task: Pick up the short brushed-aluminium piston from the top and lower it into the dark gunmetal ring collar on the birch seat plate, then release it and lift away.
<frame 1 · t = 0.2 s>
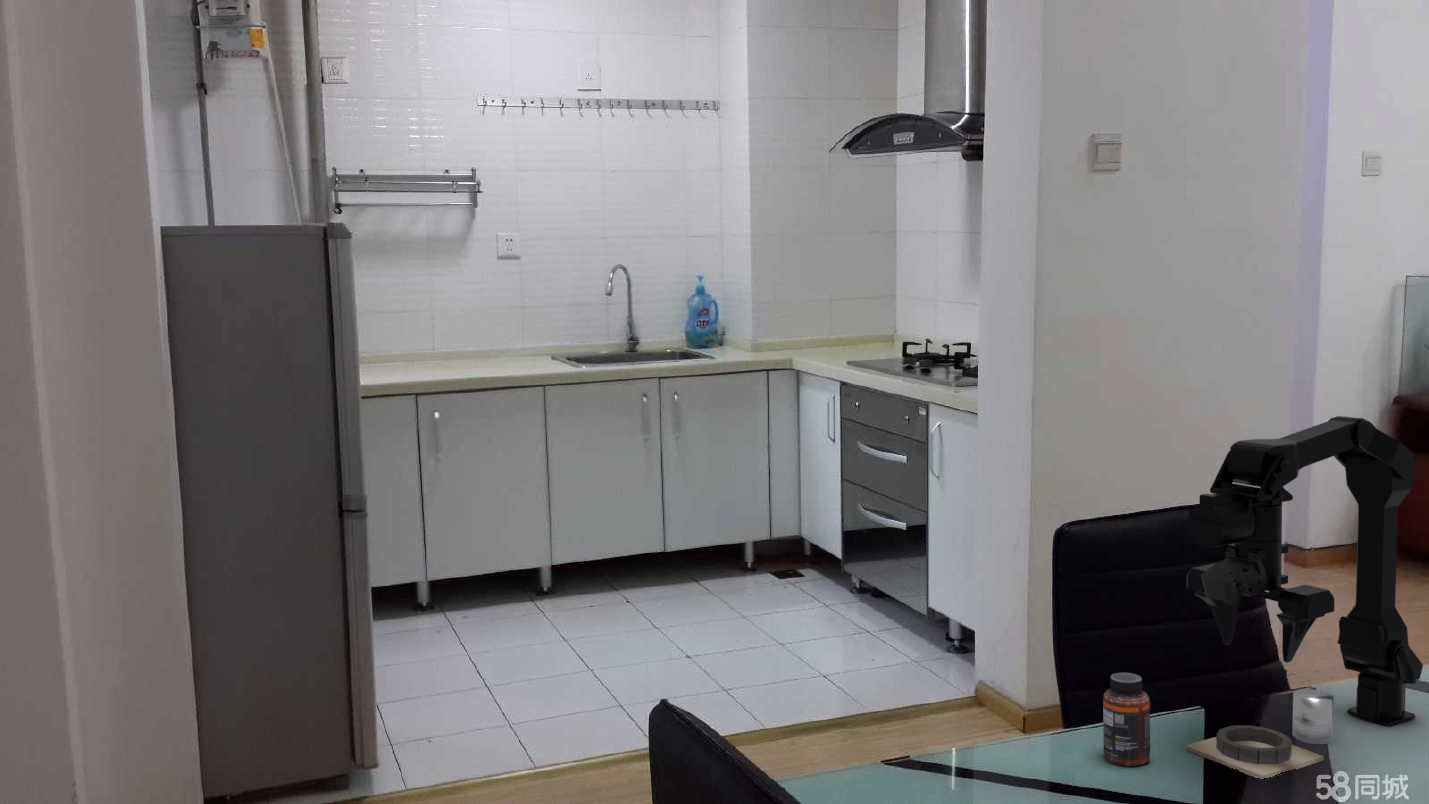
hand: (1257, 652, 165), 14 cm above the table, tool pointing down, fingers open, 9 cm apart
supplement bottle: (1126, 760, 166), on the table
ring seat: (1253, 755, 166), on the table
piston: (1312, 737, 172), on the table
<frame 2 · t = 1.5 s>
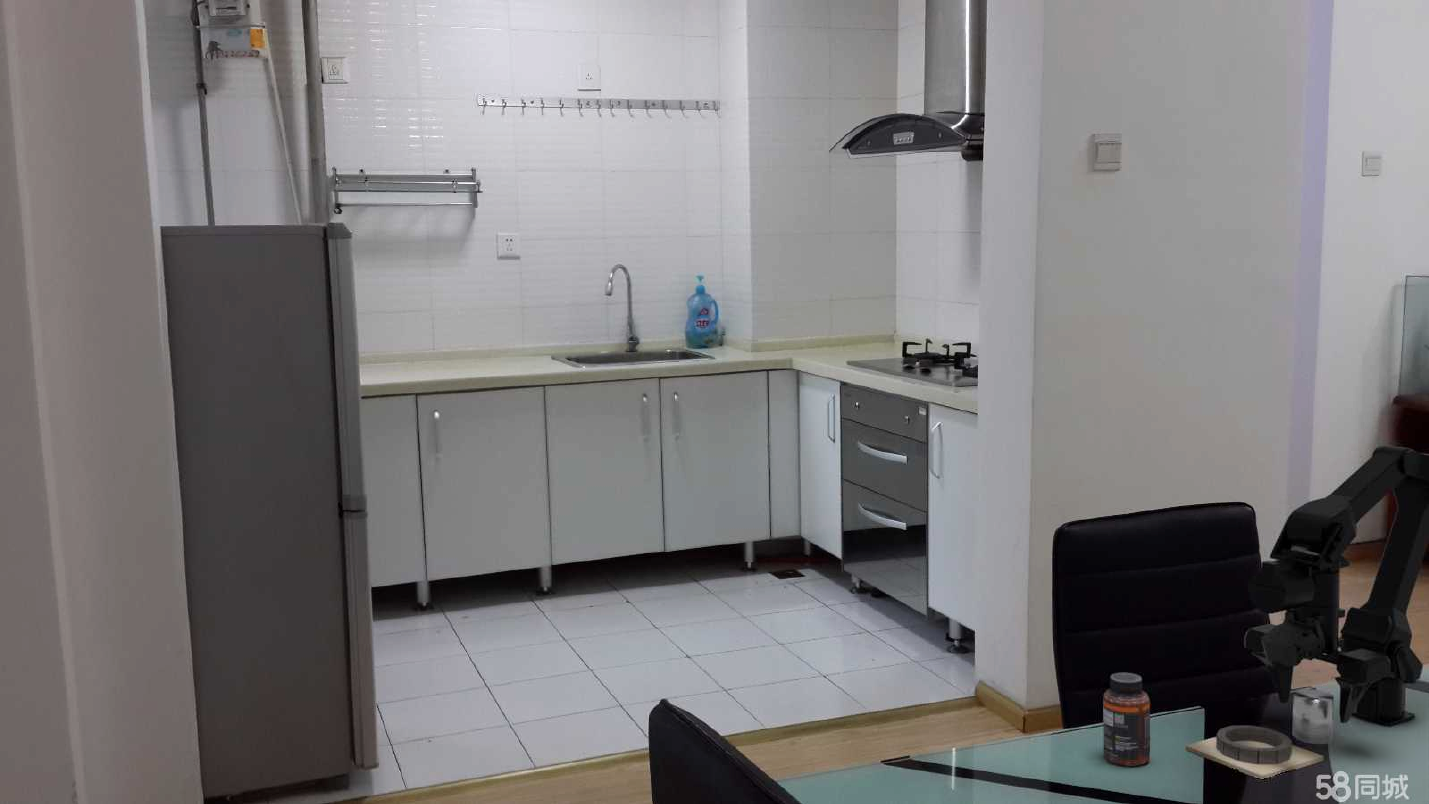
hand: (1313, 712, 172), 4 cm above the table, tool pointing down, fingers open, 9 cm apart
nothing on the table moved.
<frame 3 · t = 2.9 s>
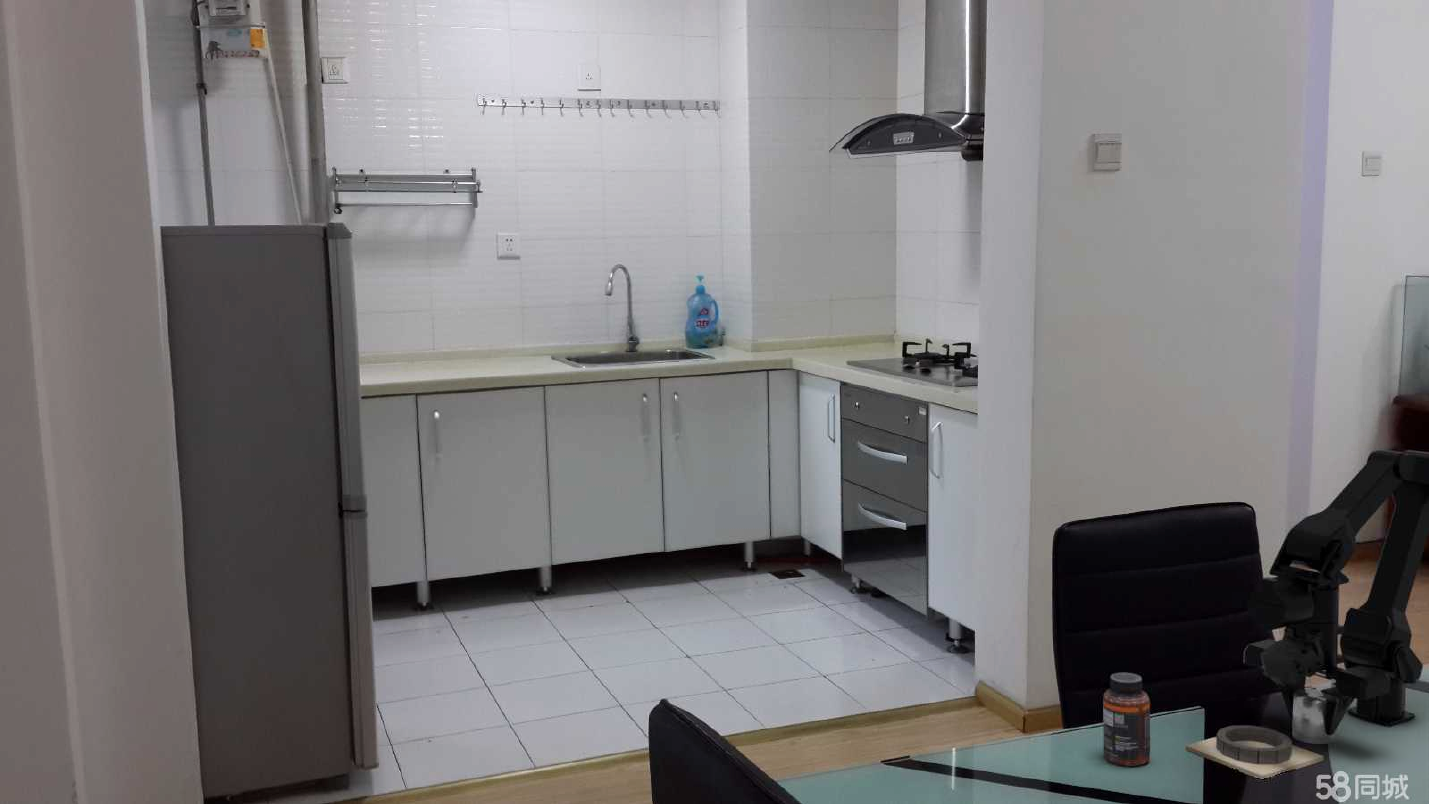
hand: (1312, 728, 172), 1 cm above the table, tool pointing down, fingers closed on piston, 5 cm apart
piston: (1312, 737, 172), on the table, touching gripper
everything else where it was.
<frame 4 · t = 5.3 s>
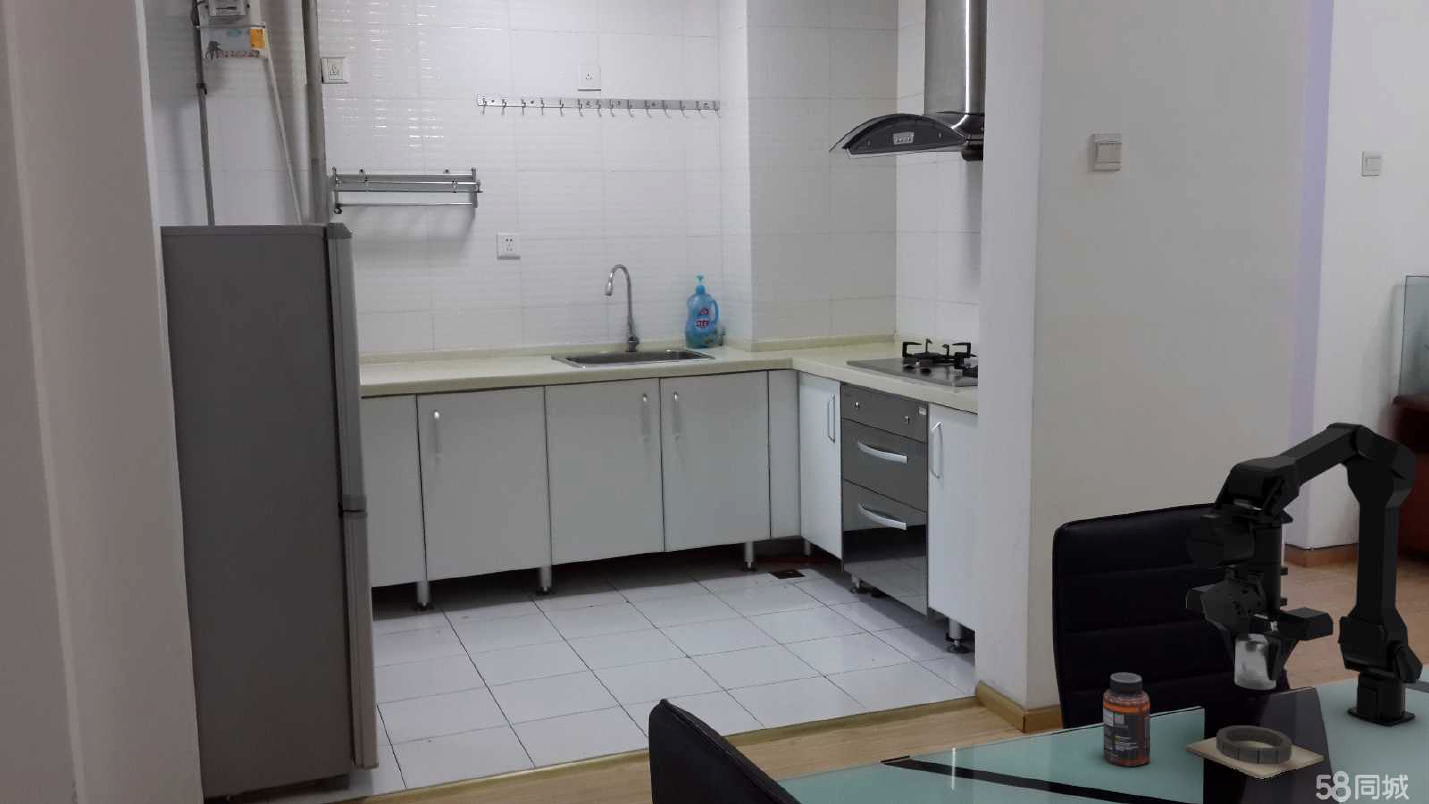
hand: (1255, 674, 165), 11 cm above the table, tool pointing down, fingers closed on piston, 5 cm apart
piston: (1255, 683, 165), point 10 cm above the table, touching gripper
everything else where it was.
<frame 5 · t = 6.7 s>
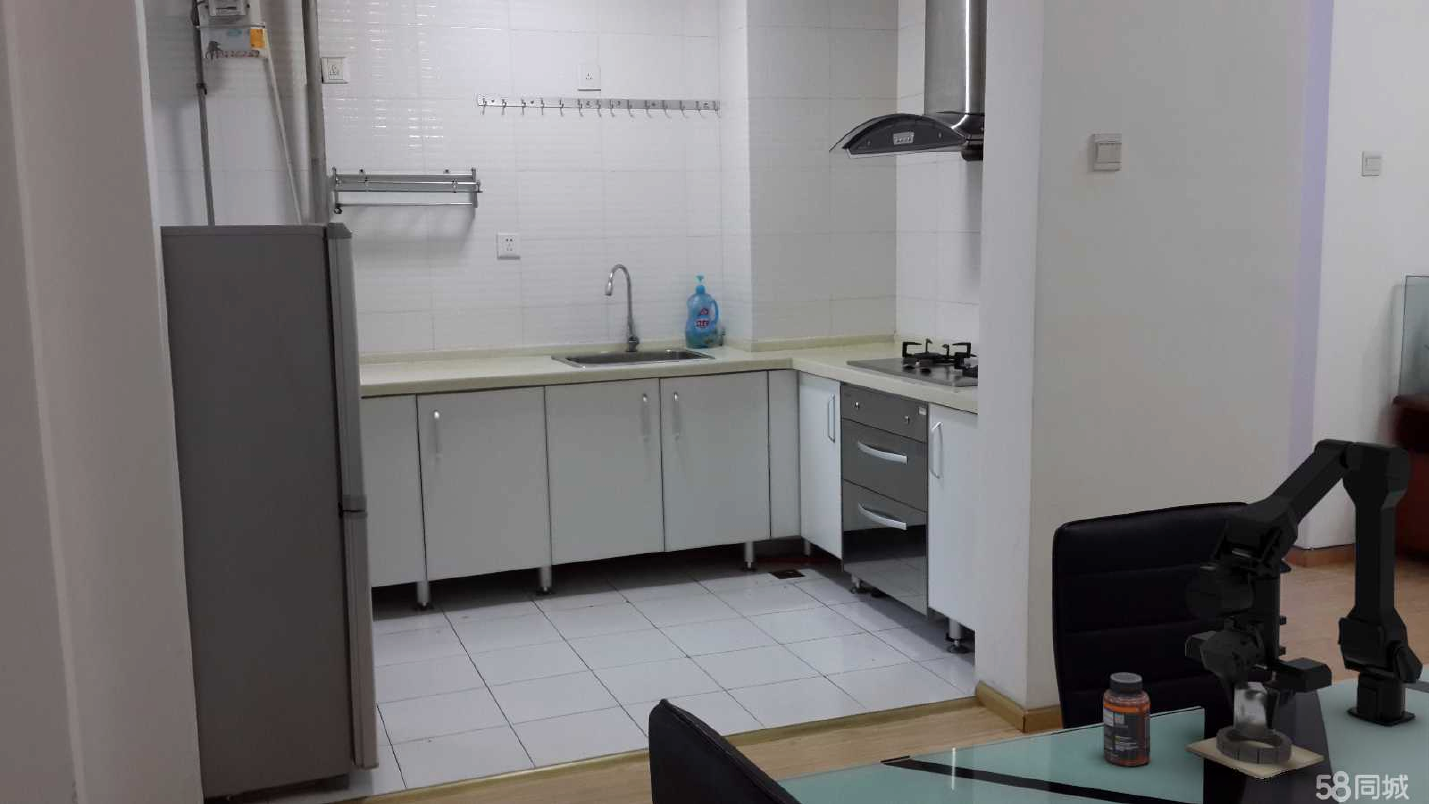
hand: (1254, 722, 166), 4 cm above the table, tool pointing down, fingers closed on piston, 5 cm apart
piston: (1254, 731, 166), point 3 cm above the table, touching gripper
everything else where it was.
when the fingers open (3 cm above the table, at t = 7.9 s): piston drops 1 cm, resting on ring seat.
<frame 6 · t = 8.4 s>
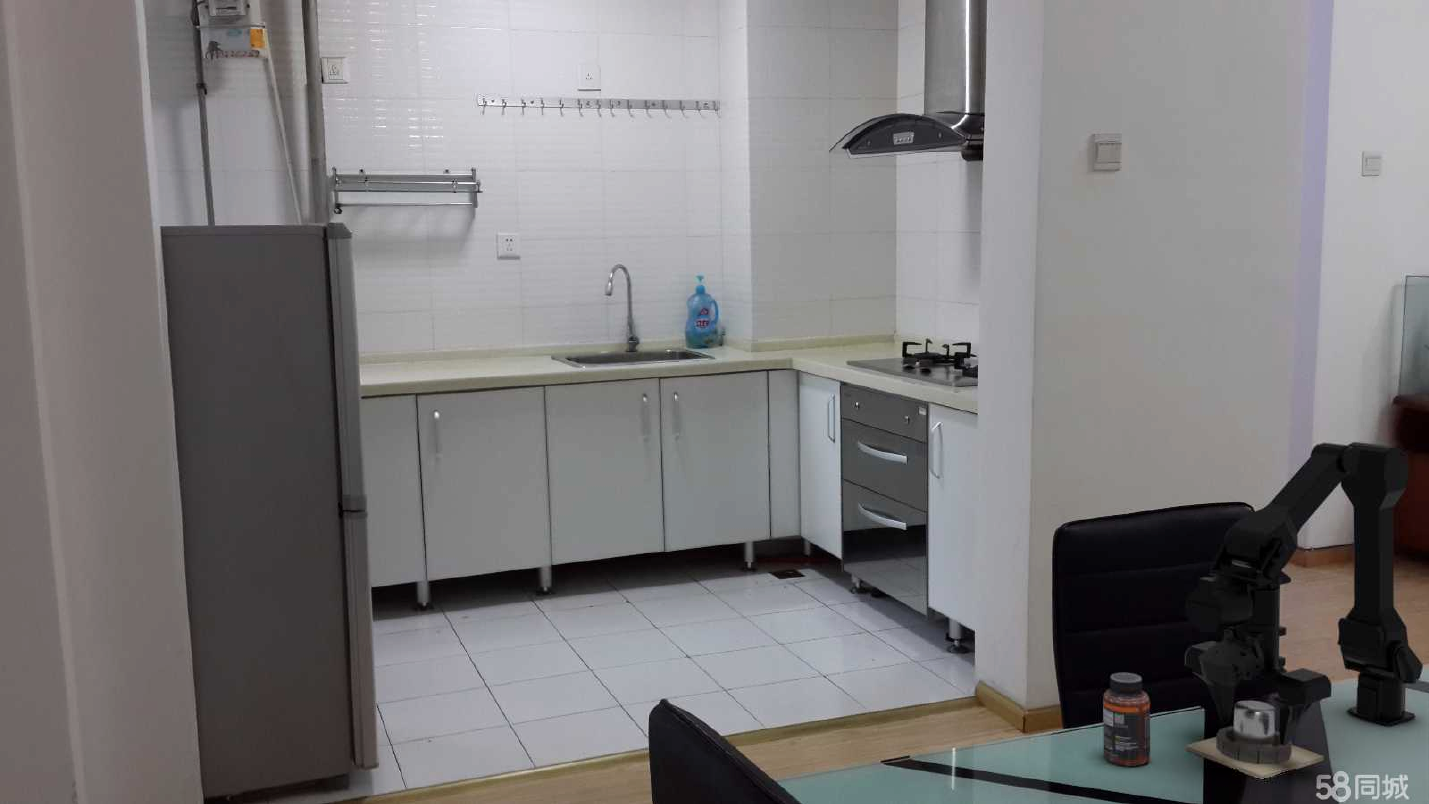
hand: (1254, 733, 166), 3 cm above the table, tool pointing down, fingers open, 9 cm apart
piston: (1253, 750, 166), point 1 cm above the table, touching ring seat
everything else where it was.
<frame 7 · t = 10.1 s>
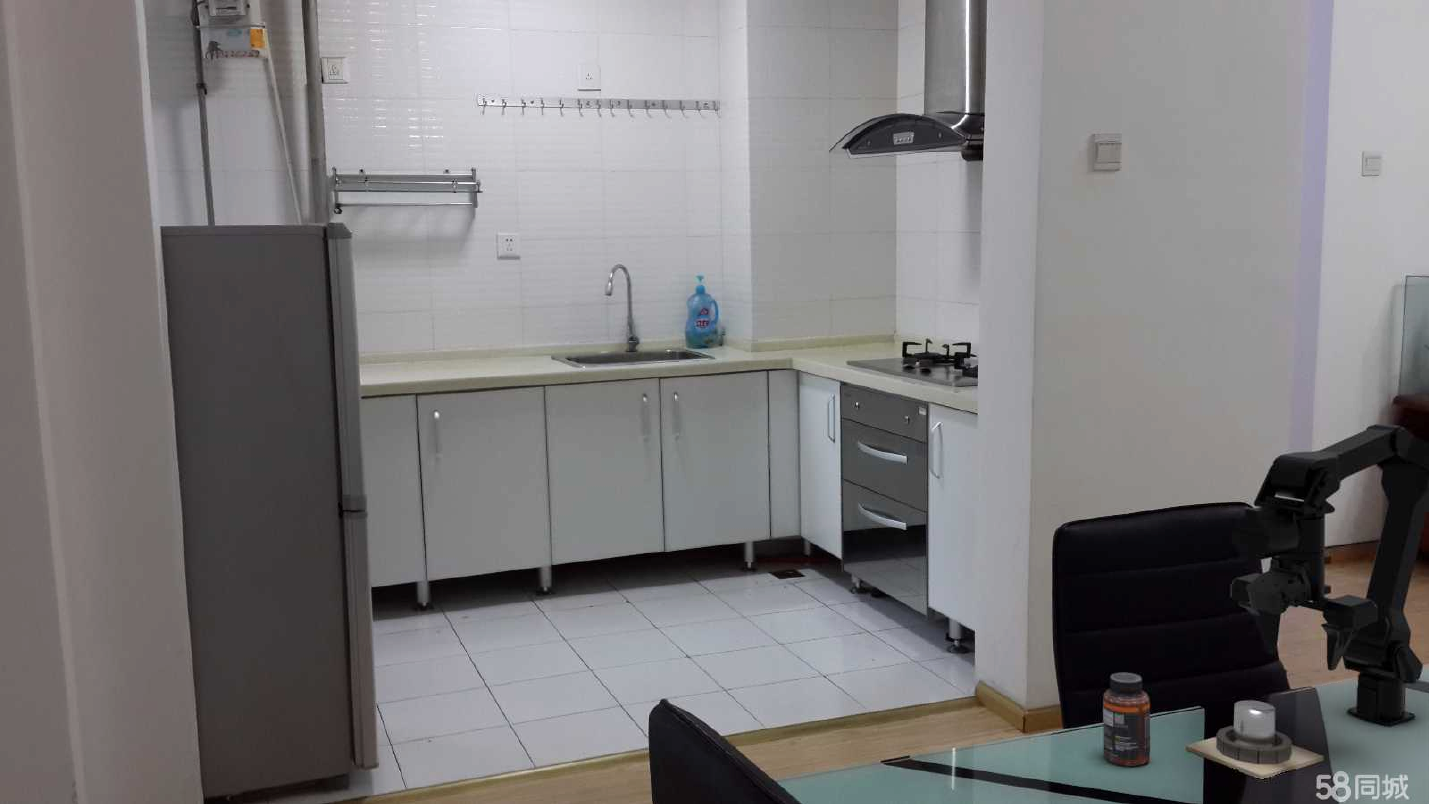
hand: (1301, 660, 169), 11 cm above the table, tool pointing down, fingers open, 9 cm apart
nothing on the table moved.
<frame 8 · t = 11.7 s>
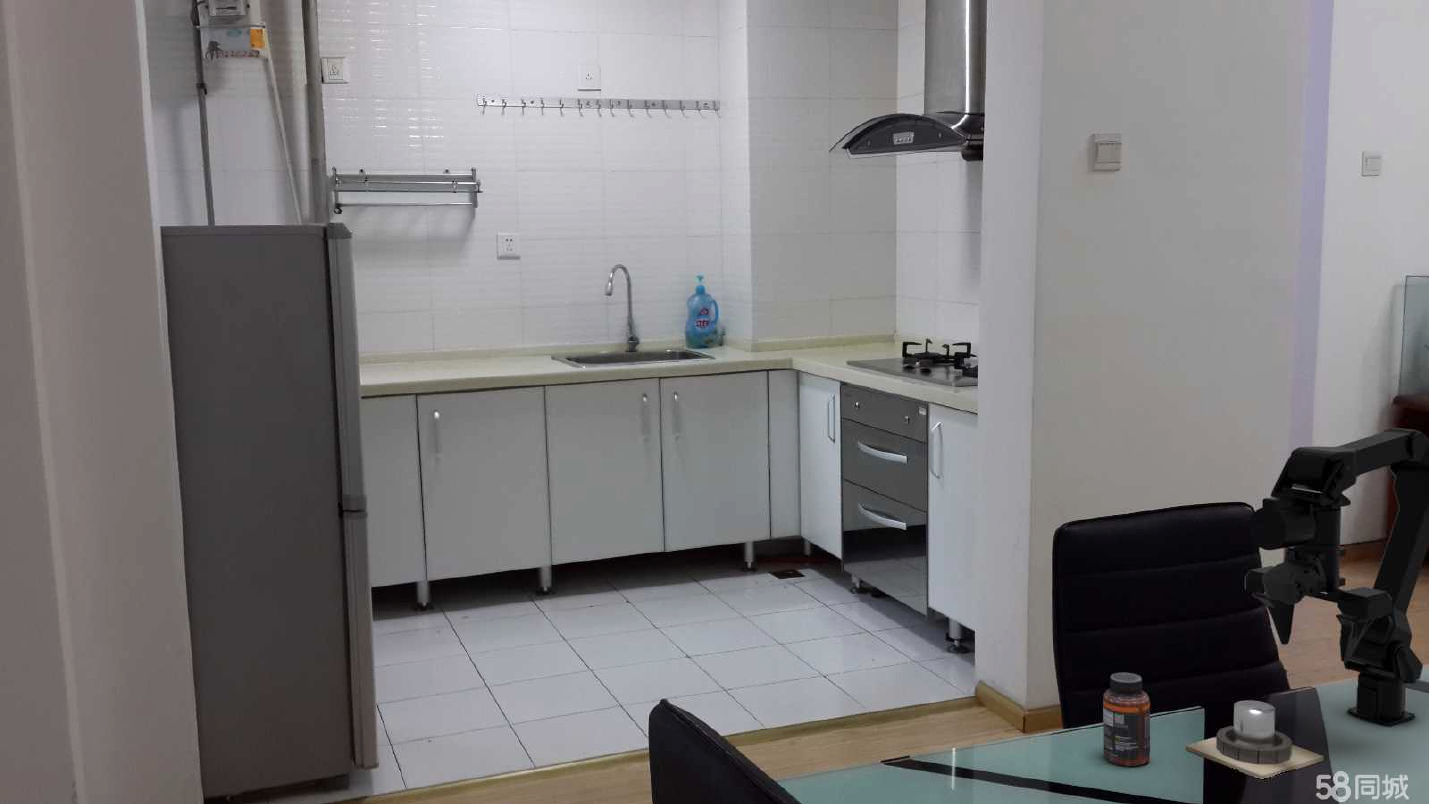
hand: (1314, 652, 171), 12 cm above the table, tool pointing down, fingers open, 9 cm apart
nothing on the table moved.
at the end: piston 0.0 cm off-centre on the ring seat, point 0.6 cm above the ring seat's base; piston tilted 1°; the gripper is holding nothing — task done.
